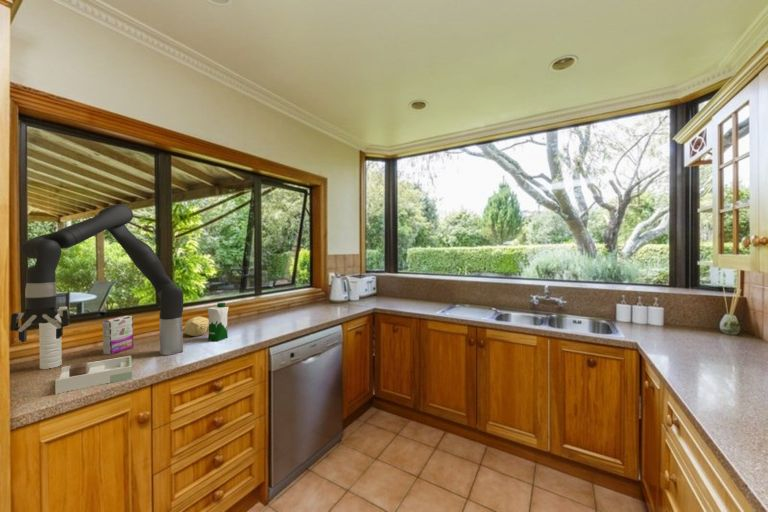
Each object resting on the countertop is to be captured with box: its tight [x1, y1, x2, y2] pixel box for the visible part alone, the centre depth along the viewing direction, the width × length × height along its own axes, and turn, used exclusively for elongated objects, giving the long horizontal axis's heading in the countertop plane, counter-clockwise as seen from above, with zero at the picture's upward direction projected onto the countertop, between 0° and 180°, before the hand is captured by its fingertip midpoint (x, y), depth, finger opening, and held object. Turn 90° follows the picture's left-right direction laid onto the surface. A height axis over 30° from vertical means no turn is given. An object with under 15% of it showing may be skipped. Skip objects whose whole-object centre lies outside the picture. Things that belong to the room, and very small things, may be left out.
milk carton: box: [206, 302, 230, 342], centre depth 176 cm, size 9×9×20 cm
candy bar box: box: [102, 315, 134, 356], centre depth 154 cm, size 11×5×16 cm, turn 168°
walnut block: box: [69, 362, 88, 377], centre depth 117 cm, size 4×4×4 cm
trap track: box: [54, 355, 133, 395], centre depth 122 cm, size 21×15×5 cm
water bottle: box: [38, 306, 68, 370], centre depth 134 cm, size 9×6×25 cm
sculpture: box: [183, 315, 209, 337], centre depth 183 cm, size 12×12×11 cm
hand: (41, 339), depth 112 cm, fingers open, 8 cm apart
